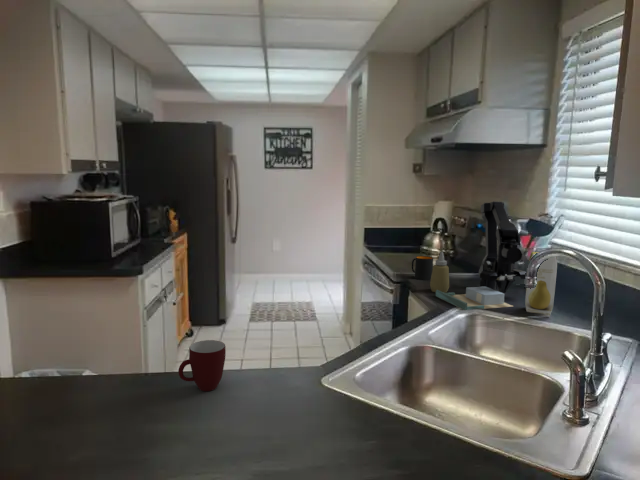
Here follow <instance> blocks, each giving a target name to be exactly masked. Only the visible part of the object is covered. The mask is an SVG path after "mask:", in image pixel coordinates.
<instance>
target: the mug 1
mask: <svg viewBox="0 0 640 480" xmlns="http://www.w3.org/2000/svg"><path fill="white" fill-rule="evenodd" d="M188 351H189V354H188V359H185V360H183V361H182V362H181V363H180V365H179V367H178V370H177V371H178V376H179V378H180V379H181V380H182V381H185V382H194V383H195V384H196V386H197V388H198V389H199V391H201V392H202V391H203V392H211V391H214V390H216V389H217V387H218V386H219V383H220V382H221V380H222V377H223V373H224V368H225V361H226V351H227V350H226V344H225V343H224V342H222V341H220V340H213V339H206V340H200V341H199V340H198V341H196V342H194V343H192V344H190V346H189V350H188ZM188 365H190V369H191V374H192V377H191V376H190V377H187V376H185V375H184V369H185V368H186V366H188Z"/></svg>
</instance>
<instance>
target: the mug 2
mask: <svg viewBox="0 0 640 480" xmlns="http://www.w3.org/2000/svg"><path fill="white" fill-rule="evenodd" d="M414 262H415V265H414ZM433 266H434V257H432V256H429V255H427V256H425V255H418V256H415V258H413V259H412V260H411V270H412V273H414V279H416V280H419V281H431V276H432V270H433Z"/></svg>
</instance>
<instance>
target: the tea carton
mask: <svg viewBox="0 0 640 480" xmlns="http://www.w3.org/2000/svg"><path fill="white" fill-rule="evenodd" d="M465 294H466V297H467V298H469V299H471V300H474V301H476V302H478V303H480V304H483V305H493V304H504V303H505V296H506V293H505V294H504V293H501V292H499V290H497V289H495V290H493V289H491V288H488V287H485V286H483V287H480V286H468V287H465Z"/></svg>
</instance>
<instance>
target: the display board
mask: <svg viewBox="0 0 640 480" xmlns="http://www.w3.org/2000/svg"><path fill="white" fill-rule="evenodd" d="M435 297H437V298H439V299H441V300H442V301H445V302H447V303H449V304H451V305H453V306H456V307H457V308H459V309H461V310H463V311H470V310H482V309H483V310H485V309H486V310H487V309H497V308H510V307H513V308H514V305H512V304H509V303H507V302H504V304H493V305H483V304H480V303H478V302H476V301H474V300H471V299H469V298H467V297H466V293H464V294H463V293H462V294H456V292H446V293H444V292H442V291H439V290H436V292H435Z"/></svg>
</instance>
